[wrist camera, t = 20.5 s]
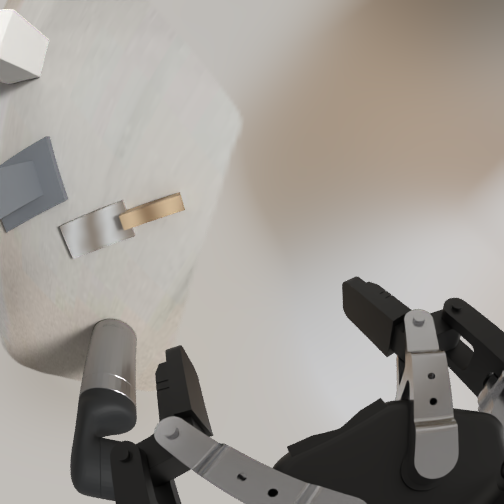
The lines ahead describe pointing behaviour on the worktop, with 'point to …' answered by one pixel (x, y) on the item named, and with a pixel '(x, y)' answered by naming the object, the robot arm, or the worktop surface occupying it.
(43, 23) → the worktop surface
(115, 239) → the trowel
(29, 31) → the milk carton
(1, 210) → the stand
